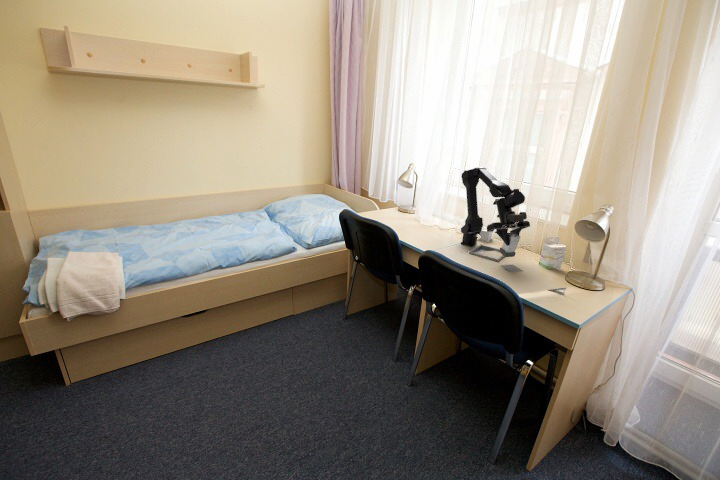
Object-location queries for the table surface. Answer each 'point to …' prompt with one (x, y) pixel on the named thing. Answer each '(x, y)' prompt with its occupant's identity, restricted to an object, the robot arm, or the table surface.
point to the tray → (485, 248)
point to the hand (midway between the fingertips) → (512, 245)
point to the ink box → (552, 253)
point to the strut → (510, 245)
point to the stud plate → (511, 268)
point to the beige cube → (485, 235)
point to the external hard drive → (558, 290)
